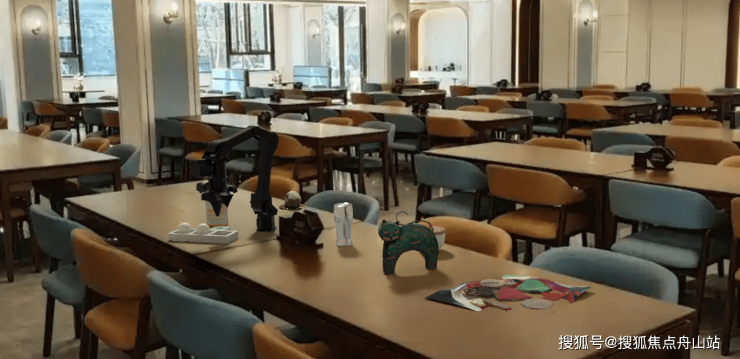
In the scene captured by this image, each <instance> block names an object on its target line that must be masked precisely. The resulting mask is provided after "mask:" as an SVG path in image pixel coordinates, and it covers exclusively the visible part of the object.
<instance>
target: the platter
mask: <svg viewBox="0 0 740 359" xmlns="http://www.w3.org/2000/svg"><path fill="white" fill-rule="evenodd" d="M590 289H593V287H592V286H583V285H582V286H581V285H569V284H565V283H560V282H557V281H554V280H551V279H547V278H543V277H536V276H527V275H515V274H514V275H513V274H512V275H511V274H504V275H502V277H501V278H500V279H493V278H486V279H483V280H474V281H466V282H462V283H460V284H458V285H456V286H454V287H451V288H448V289H440V290H437V291H435V292H433V293H431V294H429V295H428V296H425V297H424V299H430V300H436V301H439V302H442V303H447V304H451V305H457V306H461V307H463V308H464V307H465V308H468V309H471V310H473V311H476V312H480V311H482V310H484V309H486V308H495V309H497V310H502V311H503V310H505V311H504V312H508V311H507V310H511V309H512V310H513V308H512V307H511V306H510V305H507V304H503V302H507V303H508V302H509V303H511V302H512V303H516V302H517V301H518V302H520V306H521V305H522V307H523V306H524V308H525V309H528V308H529V310H539V311H541V310H546V309H550V308H552V307H553V306H554V303H553V302H556V301H560V300H561V299H562V300H565V301H567V302H569V303H570V304H572V303H573V302H574V301H576V299H577V298H578V297H579V296H581V295H582V294H583V293H584V292H587V291H588V290H590ZM552 291H553V292H552ZM528 294H529V295H528ZM531 295H540V296H542V297H541V298H532V296H531ZM492 299H494V300H492ZM501 302H502V303H501ZM512 310H511V311H512ZM553 313H555V311H553V312H552V314H553Z"/></svg>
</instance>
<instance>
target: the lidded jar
mask: <svg viewBox="0 0 740 359" xmlns="http://www.w3.org/2000/svg"><path fill="white" fill-rule="evenodd" d="M426 226H427V227H429V228H430V229H431V230H433V229H434V232H433V233H434V234H435V236H436V238H437V241H438V246H439V248H438V250H439V251H440V250H441V248H442V247H443V246H444V243H445V240H446V228H445V227H443V226H437V225H432V226H433V229H432V227H431V226H430V225H429V224H428V225H426Z"/></svg>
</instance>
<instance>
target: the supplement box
mask: <svg viewBox="0 0 740 359" xmlns="http://www.w3.org/2000/svg"><path fill="white" fill-rule="evenodd" d="M204 203H205V204H204V205H205V220H206V224H207V225H208V226H209V227H216V226H225V227H227V226H228V225H229V211H228V209H227V213H226V215H224V216H222V217H217V216H216V215H215V214H214V211H213V207H212V205H211V203H209V202H208V201H204Z"/></svg>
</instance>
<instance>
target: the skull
mask: <svg viewBox="0 0 740 359" xmlns="http://www.w3.org/2000/svg"><path fill="white" fill-rule="evenodd" d="M278 207H279V209H281V208H282V210H285V209H287V208H288V209H292V210H296V208H299V207H305V208H306V205H305V204H302V197H301V196H300V194H299V193H298V191H294V190H291V191H289V192H287V193H286V195H285V197H284V203H283V204H281V205H279V206H278ZM299 209H300V208H299Z"/></svg>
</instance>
